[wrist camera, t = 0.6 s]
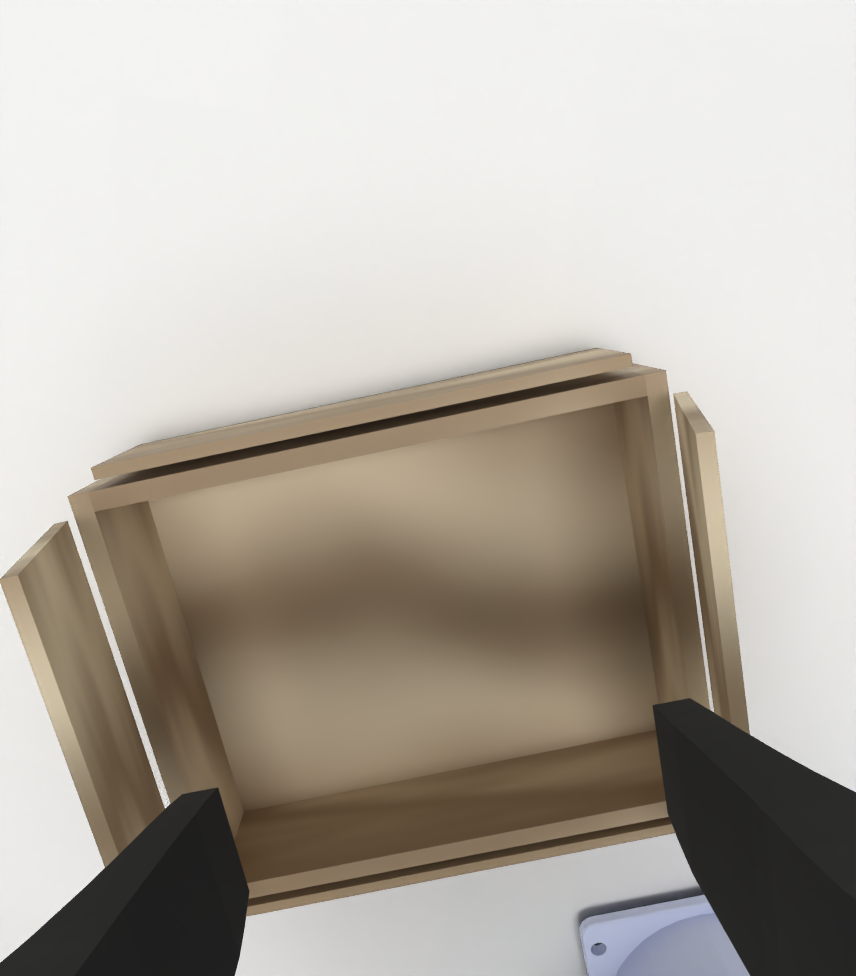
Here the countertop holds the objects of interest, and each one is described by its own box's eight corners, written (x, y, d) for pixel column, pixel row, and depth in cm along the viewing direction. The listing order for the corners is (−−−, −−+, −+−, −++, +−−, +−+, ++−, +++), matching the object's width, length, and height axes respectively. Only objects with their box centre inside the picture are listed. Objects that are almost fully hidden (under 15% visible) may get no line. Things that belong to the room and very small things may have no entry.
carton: (678, 749, 23) (724, 823, 20) (236, 836, 24) (207, 924, 20) (620, 341, 20) (662, 347, 17) (114, 448, 21) (56, 474, 17)
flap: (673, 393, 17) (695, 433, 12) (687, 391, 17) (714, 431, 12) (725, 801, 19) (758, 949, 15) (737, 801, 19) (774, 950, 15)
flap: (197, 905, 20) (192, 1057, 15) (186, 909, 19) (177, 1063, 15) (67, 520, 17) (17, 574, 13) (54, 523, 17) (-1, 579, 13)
